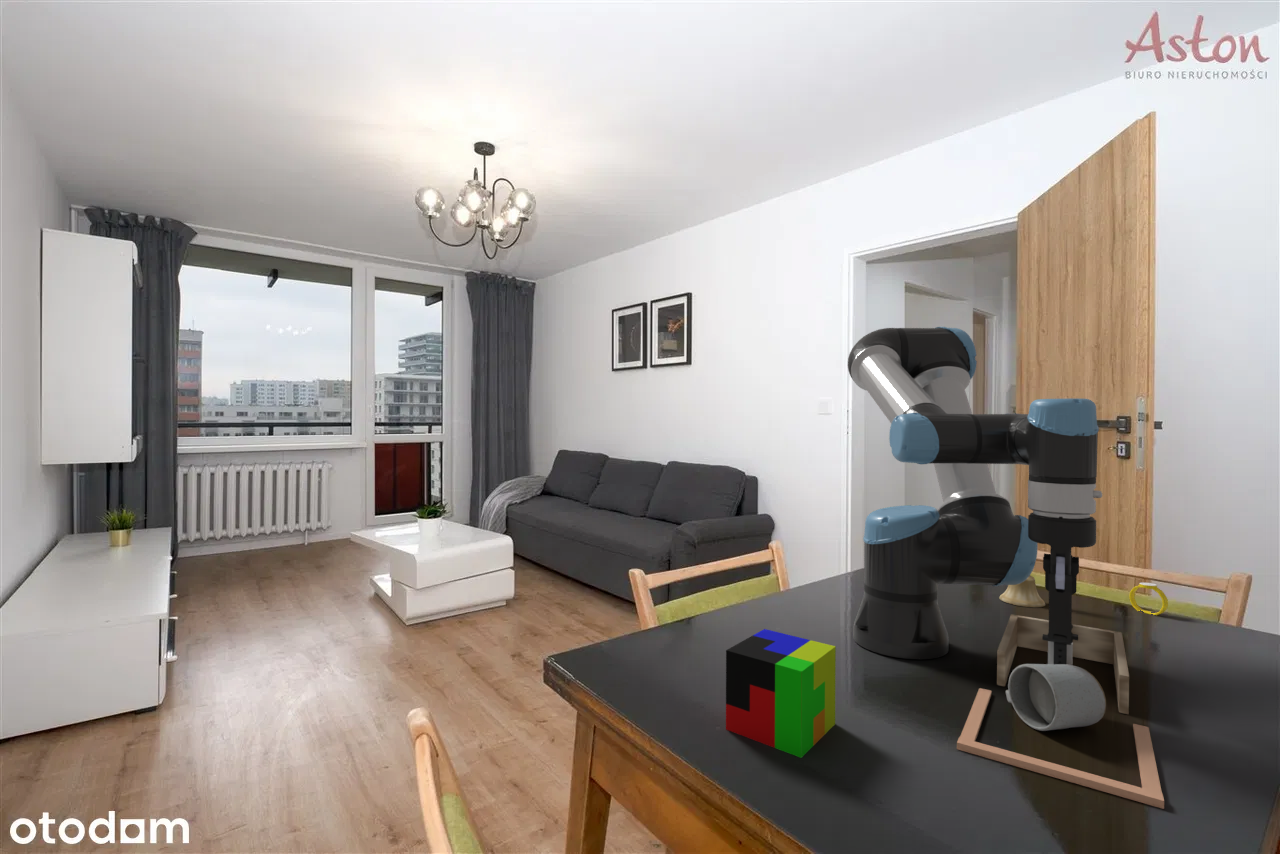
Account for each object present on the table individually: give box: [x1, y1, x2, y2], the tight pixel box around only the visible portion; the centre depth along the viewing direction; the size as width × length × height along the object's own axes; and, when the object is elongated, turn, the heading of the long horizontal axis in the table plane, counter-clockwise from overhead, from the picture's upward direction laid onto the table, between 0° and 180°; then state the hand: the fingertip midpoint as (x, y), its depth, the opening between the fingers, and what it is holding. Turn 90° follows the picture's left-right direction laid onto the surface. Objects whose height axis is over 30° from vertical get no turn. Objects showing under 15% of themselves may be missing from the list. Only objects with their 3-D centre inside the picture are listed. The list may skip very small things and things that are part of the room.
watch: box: [1128, 582, 1169, 616], centre depth 122 cm, size 6×3×6 cm, turn 26°
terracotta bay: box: [956, 687, 1165, 810], centre depth 74 cm, size 18×19×1 cm
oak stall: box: [996, 614, 1130, 715], centre depth 93 cm, size 15×20×5 cm
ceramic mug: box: [1005, 663, 1107, 732], centre depth 79 cm, size 11×8×8 cm
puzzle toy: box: [725, 628, 837, 759], centre depth 77 cm, size 10×10×10 cm
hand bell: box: [998, 574, 1046, 608], centre depth 129 cm, size 8×8×16 cm
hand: (1059, 688), depth 82 cm, fingers closed
